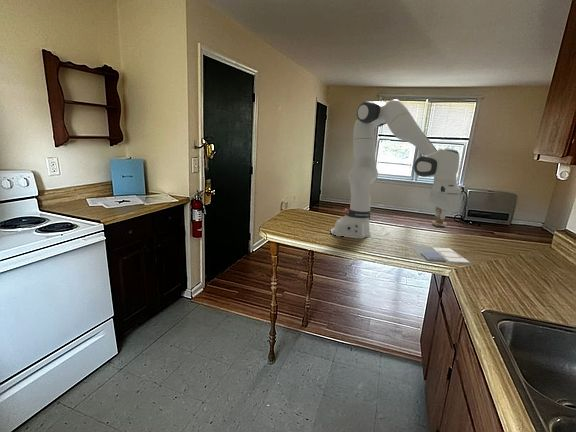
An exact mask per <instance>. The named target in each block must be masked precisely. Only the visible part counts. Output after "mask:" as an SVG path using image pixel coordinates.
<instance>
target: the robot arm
mask: <svg viewBox="0 0 576 432" xmlns="http://www.w3.org/2000/svg"><path fill="white" fill-rule="evenodd" d="M356 118H357V120H356V121H355V122H354V125H353V133H352V135H353V136H352V137H353V138H352V145H353V146H352V153H353V157H354V160H355V165H356V166H354V167H352V168H351V169H350V170H349V172H348V174H347V179H348V182H349V186H350V204H349V205H350V207H349V208H346V207H345V208H344V212H345V215H344V216H342V217H340V218H338V219H337V220H336V222H335V223H334V227H331V228H330V231H331V232H330V234H331V233H332V234H331V235H333V234H334V235H336V236H335V237H340V236H344V237H343V238H351V239H360V240H361V239H365V238H368V237H370V236H371V230H370V220H371V214H372V212H371V211H372V210H371V206H372V205H371V204H372V195H371V184H373V183H374V182H375V181H376V180H377V179H378V177H379V172H378V171H379V170H378V169H377V162H376V157H375V131H376V130H375V129H376V128H377V127H379V128H380V127H382V126H385V125H387V126H388V128H389V129H390V132H391V133H392V135H394V137H395V138H397V139H398V140H401V141H404V142H406V143H409V144H412V145H413V146H414V147H415V148H416V149H417V150H418V152H419V153H420V154H421V156H419V157H418V158H417V159H416V160H415V161H414V164H413V169H414V173H415V174H416V175H417V176H418V177H421V178H433V183H432V188H431V189H430V191H429V194H428V199H427V201H428V204H430V205H432V206H434V212H435V213H434V216H435V217H436V215H437V209H441V211H442V212H441V214H440V217H439V218H440V219H443V220H445V219H446V215H447V213H448V212H449V213H455V212H457V210H458V209H459V203H460V194H461V193H462V188H461V187H460V186H459V185H458V183H457V180H458V177H457V174H458V171H459V166H460V153H459V152H458V150H456V149H454V148H447V147H440V148H439V149H438V150H437V148H436V147H435V145H434V144H433V142H432V141H430V138H429V137H428V136H427V135H426V134H425V132H424V131H423V130H422V129H421V128H420V126H419V125H418V123H417V122H416V120H415V119H414V117H413V116H412V114H411V113H410V111H409V109H408V108H407V107H406V106H405V104H404V103H402V101H400V100H399V99H391V100H388V101H387V102H384V101H379V100H378V101H371V100H369V101H368V100H367V101H363V102H361V103H360V104H359V106H358V107H357V110H356ZM334 235H333V236H334Z"/></svg>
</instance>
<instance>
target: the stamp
mask: <svg viewBox="0 0 576 432" xmlns="http://www.w3.org/2000/svg"><path fill="white" fill-rule="evenodd" d="M441 212H442V211H441V208H440V209H437V215H436V216H435V220H432V221H431V224H432V225H431V226H433V228H435V229H436V228H437V229H446V226H447V223H446V222H444V219H440V218H439V217H440V214H441Z"/></svg>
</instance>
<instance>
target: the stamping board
mask: <svg viewBox="0 0 576 432" xmlns="http://www.w3.org/2000/svg"><path fill="white" fill-rule="evenodd" d="M409 247H410V248H412V249H413V251H414V252H416V253H417V254H418V255H419V256H420V257H421V258H423V260H424V261H426V262H437V263H453V264H454V263H455V264H456V263H457V264H473V262H470V260H468V259H466V258H464V256H462V255H461V254H459V253H458V252H456V251H455V250H454V249H452V248H451V247H450V248H449V247H433V246H432V247H431V246H416V245H415V246H413V245H411V246H409Z"/></svg>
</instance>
